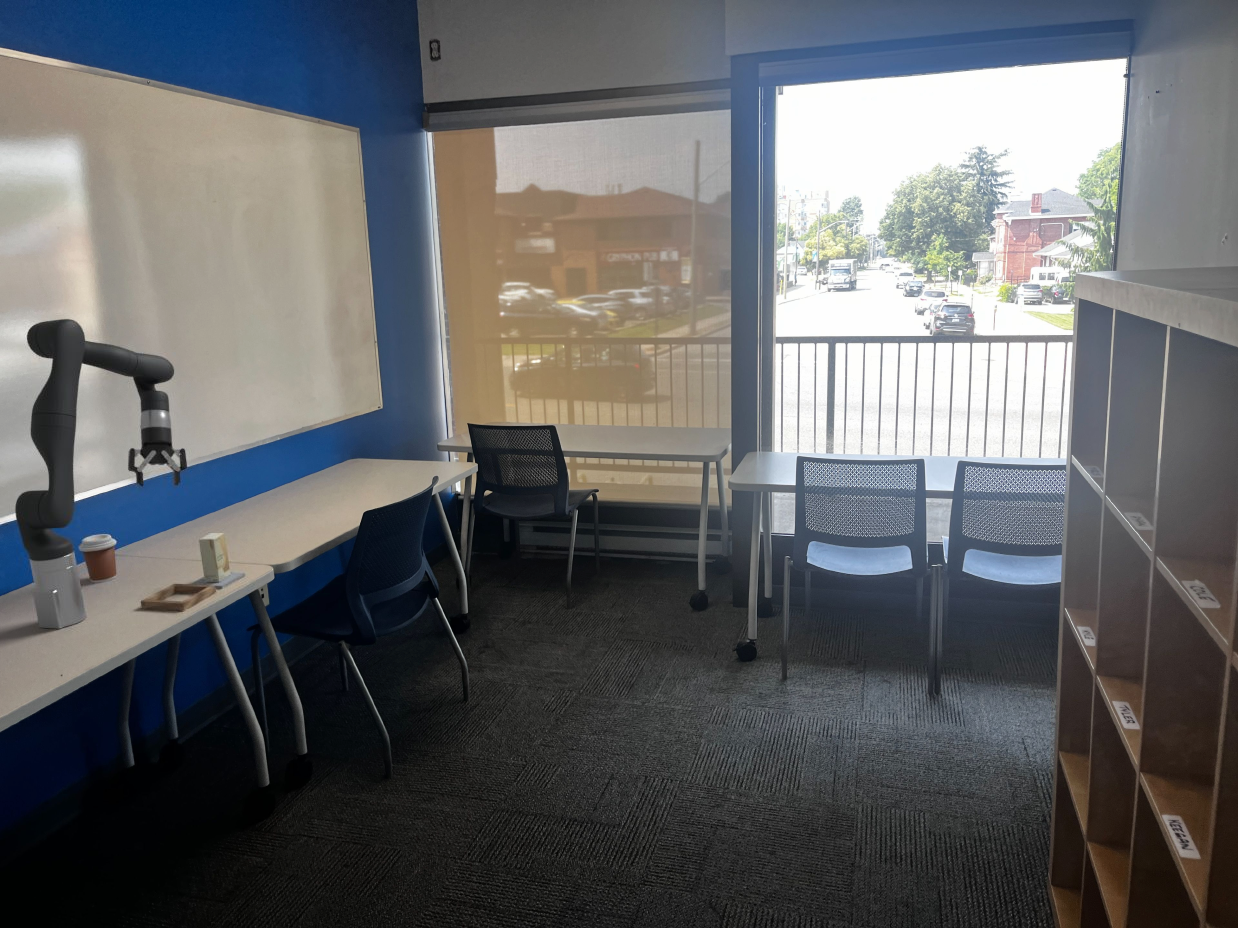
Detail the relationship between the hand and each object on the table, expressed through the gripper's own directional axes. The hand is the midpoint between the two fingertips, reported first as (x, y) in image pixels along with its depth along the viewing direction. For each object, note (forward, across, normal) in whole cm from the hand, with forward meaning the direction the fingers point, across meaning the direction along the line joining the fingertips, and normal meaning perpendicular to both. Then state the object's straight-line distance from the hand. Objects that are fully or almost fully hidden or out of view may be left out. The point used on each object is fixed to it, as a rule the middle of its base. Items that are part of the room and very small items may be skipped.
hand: (158, 486), depth 243 cm
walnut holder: (+32, +1, -12) cm, 35 cm away
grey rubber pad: (+28, +12, -5) cm, 31 cm away
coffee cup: (+22, -11, +20) cm, 32 cm away
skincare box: (+27, +13, -5) cm, 30 cm away
